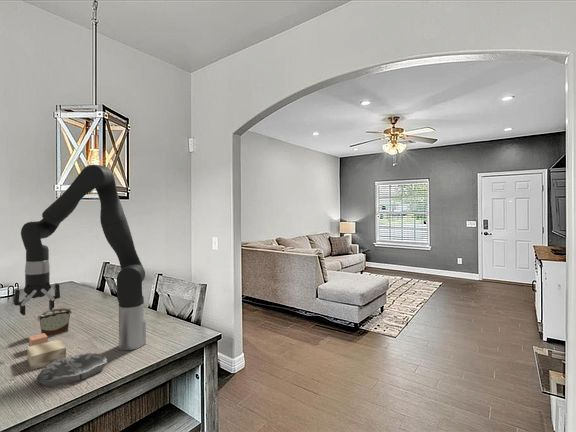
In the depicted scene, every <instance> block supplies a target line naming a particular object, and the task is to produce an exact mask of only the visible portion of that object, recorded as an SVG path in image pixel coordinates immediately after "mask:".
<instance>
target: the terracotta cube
mask: <svg viewBox="0 0 576 432" xmlns="http://www.w3.org/2000/svg"><path fill="white" fill-rule="evenodd" d="M46 342H49V338H48V336H47V335H46V334H45V333H43V334H41V333H40V334H39V333H38V334H35V335H31V336H28V347H30V346H34V345H38V344H42V343H46Z"/></svg>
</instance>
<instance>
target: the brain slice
mask: <svg viewBox="0 0 576 432" xmlns="http://www.w3.org/2000/svg"><path fill="white" fill-rule="evenodd" d="M107 364H108V358H107V357H106V356H105V355H104V354H103V353H96V352H95V353H91V352H87V353H83V352H81V353H75V354H71V355H68V356H66V358H61V359H58V360H55V361H53V362H52V363H50V364H48V365H47V366H44V368H42V370H41V371H40V373H38V374H37V380H38V381H40V384H41V385H44V386H45V387H48V388H49V387H51V388H55V387H59V386H62V385H67V384H73V383H75V382H78V381H82V380H85V379H87V378H89V377H91V376H93V375H95V374H97V373H100V372H101V371H102V370H103V369H104V368H105V367H106V365H107Z"/></svg>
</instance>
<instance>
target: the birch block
mask: <svg viewBox="0 0 576 432" xmlns="http://www.w3.org/2000/svg"><path fill="white" fill-rule="evenodd" d="M26 352H27V353H26V355H27V356H26V357H27V358H26V359H27V362H28V363H27V364H28V365H29V368H30V370H31V371H33V370H36V369H38V368H39V369H40V368H43V367H46V366H47V365H48V364H50V363H52V362H53V361H55V360H58V359H61V358H67V348H66V345H65V344H64V342H63V341H62V340H61V339H55V340H52V341H48V342H46V343H42V344H38V345H34V346H30V347H29V346H27V347H26ZM32 369H33V370H32Z"/></svg>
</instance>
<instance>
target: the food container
mask: <svg viewBox="0 0 576 432" xmlns="http://www.w3.org/2000/svg"><path fill="white" fill-rule="evenodd" d="M71 315H72V309H71V308H67V307H65V308H63V307H61V308H52V310H49V309H47V310H46V311H45V310H44V311H42V312H41V313H39V315H38V316H37V321H39V325H40V326H39V327H40V334H43V333H45V334H46V335H47V336H48V337H53V336H57V335H60V334H64V333H68V332H69V328H70V316H71Z"/></svg>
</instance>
